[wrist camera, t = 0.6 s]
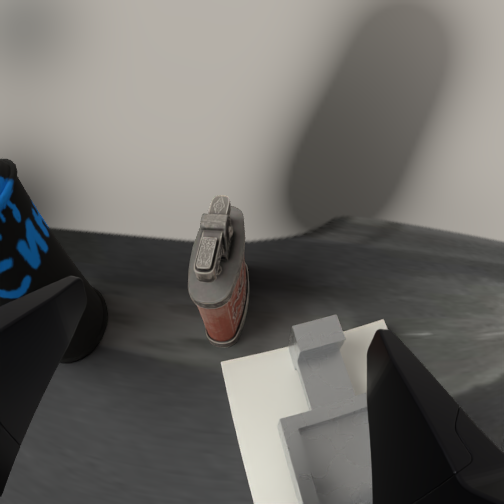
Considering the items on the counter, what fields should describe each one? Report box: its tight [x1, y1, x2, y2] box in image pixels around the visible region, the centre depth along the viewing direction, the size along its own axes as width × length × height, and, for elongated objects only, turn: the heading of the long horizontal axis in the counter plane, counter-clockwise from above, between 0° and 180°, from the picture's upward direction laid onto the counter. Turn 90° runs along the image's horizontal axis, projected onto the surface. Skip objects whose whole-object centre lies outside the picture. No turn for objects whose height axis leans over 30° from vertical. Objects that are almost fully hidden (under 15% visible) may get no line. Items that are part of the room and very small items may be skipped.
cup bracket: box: [277, 315, 373, 504], centre depth 17 cm, size 13×8×5 cm, turn 13°
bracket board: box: [221, 319, 388, 504], centre depth 18 cm, size 19×13×2 cm
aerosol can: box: [0, 159, 107, 363], centre depth 18 cm, size 8×8×20 cm
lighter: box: [188, 196, 249, 348], centre depth 23 cm, size 8×3×10 cm, turn 173°
